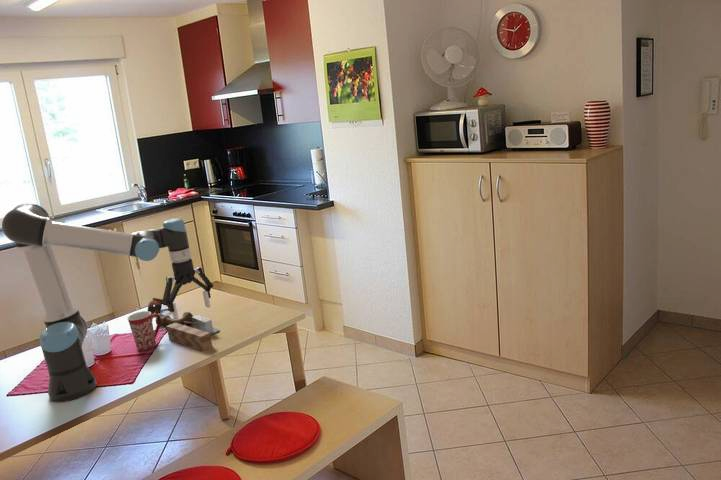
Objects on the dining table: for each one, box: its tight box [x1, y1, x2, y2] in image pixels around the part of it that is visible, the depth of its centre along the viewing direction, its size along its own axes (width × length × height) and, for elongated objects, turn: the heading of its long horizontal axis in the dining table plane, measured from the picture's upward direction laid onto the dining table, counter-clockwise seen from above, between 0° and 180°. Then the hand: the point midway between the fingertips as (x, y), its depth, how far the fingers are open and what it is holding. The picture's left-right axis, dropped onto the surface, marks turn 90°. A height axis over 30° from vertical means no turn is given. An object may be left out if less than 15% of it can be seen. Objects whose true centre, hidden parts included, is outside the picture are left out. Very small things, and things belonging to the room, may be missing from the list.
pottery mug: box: [146, 297, 170, 315], centre depth 273 cm, size 12×10×8 cm
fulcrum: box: [191, 314, 221, 336], centre depth 243 cm, size 8×12×6 cm, turn 44°
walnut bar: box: [165, 323, 213, 351], centre depth 234 cm, size 24×4×6 cm, turn 50°
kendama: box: [155, 311, 194, 327], centre depth 253 cm, size 6×10×20 cm
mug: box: [126, 310, 161, 351], centre depth 236 cm, size 13×9×14 cm
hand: (192, 312), depth 226 cm, fingers open, 13 cm apart
